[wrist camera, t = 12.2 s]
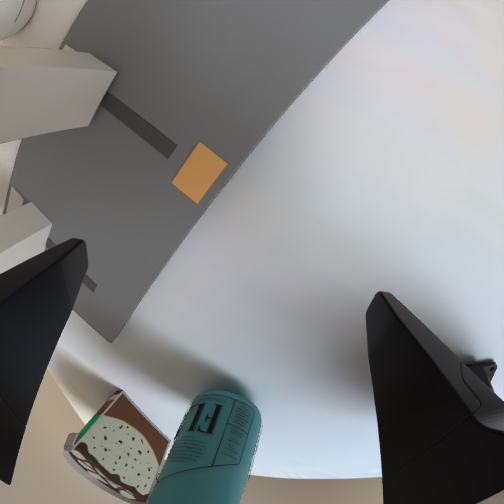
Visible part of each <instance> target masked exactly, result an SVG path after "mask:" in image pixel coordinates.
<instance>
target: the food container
mask: <svg viewBox="0 0 504 504" xmlns="http://www.w3.org/2000/svg"><path fill="white" fill-rule="evenodd" d="M170 441H171V440H170V439H169V438H167V437H166V436H165V435H164V434H163V433H162V432H161V431H160V430H159V429H158V428H157V427H156V426H155V425H154V423H153V422H152V421H151V420H150V419H149V418H148V417H147V416H146V415H145V414H144V413H143V412H142V411H141V410H140V409H139V408H138V407H137V405H136V404H135V403H134V402H133V401H132V400H131V399H130V398H129V396H128V395H127V394H126V393H125V392H124V391H123V390H120V391H117V392H115V393H114V394H113V395H112V396H111V397H110V398H109V399H108V401H107V402H106V403H105V404H104V405H103V406H102V407H101V408H100V410H99V411H98V412H97V413H96V414H95V415H94V416H93V417H92V419H91V420H90V421H89V422H88V423H87V424H86V425H85V426H84V428H83V429H82V430H81V431H80V432H79V433H70V434H69V435H68V437H67V440H66V442H65V445H64V452H63V455H64V457H65V459H66V460H67V461H68V463H69V464H70V465H71V466H72V467H73V468H74V469H75V470H76V471H77V472H79V473H80V474H81V475H82V476H84V477H85V478H86V479H88V480H89V481H90V482H92V483H93V484H95V485H96V486H98V487H99V488H101V489H102V490H104V491H106V492H108V493H110V494H111V495H113V496H115V497H117V498H119V499H121V500H123V501H125V502H128V503H130V504H147V501H148V499H147V498H149V496H150V494H151V493H150V492H152V490H153V487H154V485H155V481H156V480H155V479H156V477H158V475H157V474H159V471H160V468H161V466H162V463H163V460H164V457H165V455H166V452H167V449H168V447H169V444H170ZM150 490H151V491H150ZM149 491H150V492H149ZM149 493H150V494H149ZM148 495H149V496H148ZM145 500H146V502H145Z"/></svg>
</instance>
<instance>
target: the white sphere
mask: <svg viewBox="0 0 504 504" xmlns="http://www.w3.org/2000/svg"><path fill="white" fill-rule="evenodd" d="M35 5H36V0H0V40H1V39H5V38H8V37H10V36H12V35H14V34H16V33H17V32H18V31H19V30H21V29H22V28H23V27H24V26H25V24H26V23H27V22H28V21H29V19H30V18H31V16H32V14H33V12H34V9H35Z"/></svg>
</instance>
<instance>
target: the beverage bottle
mask: <svg viewBox="0 0 504 504" xmlns="http://www.w3.org/2000/svg"><path fill="white" fill-rule="evenodd" d="M193 400H194V399H193ZM191 402H192V401H191ZM187 411H188V409H187ZM187 411H186V412H187ZM185 416H186V417H185ZM185 416H184V418H185V419H184V418H183V419H184V420H182V421H183V423H182V422H181V424H183V425H180V426H181V427H179V429H180V430H179V429H178V431H177V434H176V436H175V438H174V440H175V439H176V440H175V442H173V443H174V444H173V446H171V447H172V449H171V450H170V453H168V454H169V455H168V457H167V459H166V462H165V464H164V466H163V468H162V470H161V473H160V475H159V474H157V475H159V477H158V479H157V477H156V479H155V480H157V481H155V482H156V483H155V485H154V487H153V490H152V492H150V491H151V490H150V491H149V492H150V493H151V494H150V493H149V494H150V496H149V495H148V496H149V498H147V499H148V501H147V504H239V503H240V499H241V495H242V492H243V490H244V487H245V484H246V481H247V477H248V473H249V471H250V470H251V469H252V467H253V466H252V465H251V462H252V458H253V455H254V452H255V451H256V450H257V449H256V450H255V447H256V446H257V445H256V443H257V439H258V437H259V436H258V435H259V433H260V432H261V431H260V427H261V414H260V412H259V410H258V408H257V407H256V406H255V405H254V404H253V403H252V402H250V401H249V400H247V399H246V398H244V397H242V396H240V395H237V394H235V393H232V392H228V391H222V390H209V391H205V392H203V393H201V394H199V395H198V396H197V397H196V399H195V400H194V401H193V402H192V405H191V407H190V409H189V411H188V412H187V415H186V413H185ZM261 430H262V429H261ZM259 431H260V432H259ZM260 435H261V433H260ZM176 437H177V438H176ZM259 438H260V437H259ZM258 440H259V439H258ZM258 443H259V441H258ZM255 453H256V452H255ZM254 457H255V456H254ZM253 461H254V460H253ZM253 463H254V462H253ZM250 466H252V467H251V469H250ZM250 472H251V471H250ZM249 476H250V475H249ZM145 502H146V500H145Z"/></svg>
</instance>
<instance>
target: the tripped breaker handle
mask: <svg viewBox="0 0 504 504" xmlns="http://www.w3.org/2000/svg"><path fill="white" fill-rule="evenodd" d="M116 74H117V72H116V71H115V70H113V69H112V68H111V67H109V66H108V65H106V64H105V63H103V62H102V61H100V60H99V59H97V58H96V57H94V56H93V55H91V54H90V53H84V52H76V51H68V50H58V49H46V48H30V47H0V144H2V143H5V142H9V141H13V140H18V139H22V138H26V137H31V136H35V135H40V134H45V133H50V132H56V131H61V130H67V129H73V128H79V127H85V126H89V124H90V122H91V120H92V118H93V116H94V114H95V112H96V110H97V108H98V106H99V104H100V102H101V100H102V98H103V96H104V95H105V93H106V91H107V89H108V87H109V86H110V84H111V82H112V80H113V79H114V77H115V75H116Z"/></svg>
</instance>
